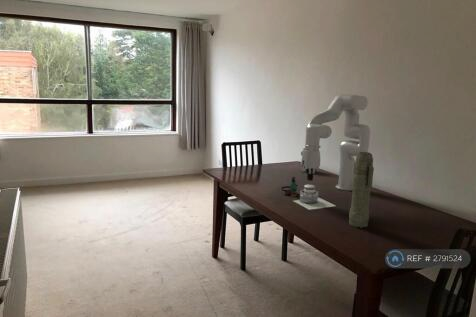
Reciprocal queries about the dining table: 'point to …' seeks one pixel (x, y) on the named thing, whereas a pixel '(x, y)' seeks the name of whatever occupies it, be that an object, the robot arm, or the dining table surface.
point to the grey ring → (308, 197)
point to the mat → (319, 204)
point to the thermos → (361, 190)
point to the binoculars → (293, 188)
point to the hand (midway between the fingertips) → (309, 180)
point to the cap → (309, 189)
